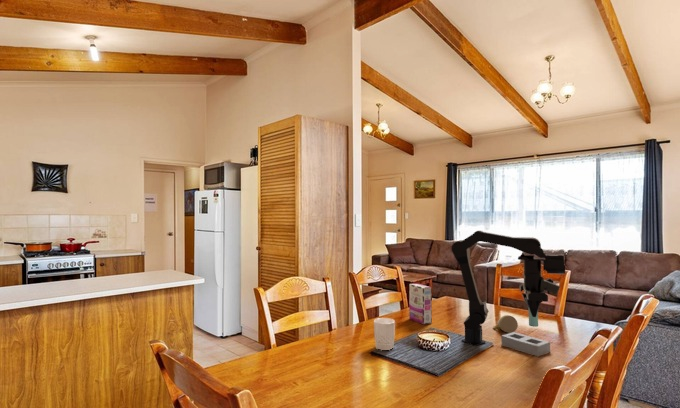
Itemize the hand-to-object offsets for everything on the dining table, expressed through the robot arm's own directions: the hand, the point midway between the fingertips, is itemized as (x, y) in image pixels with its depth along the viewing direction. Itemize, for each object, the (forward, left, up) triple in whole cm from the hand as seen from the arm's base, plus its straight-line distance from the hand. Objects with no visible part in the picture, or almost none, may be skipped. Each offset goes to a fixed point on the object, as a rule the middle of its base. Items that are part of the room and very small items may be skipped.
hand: (533, 315), depth 140 cm
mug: (+13, +20, -13) cm, 27 cm away
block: (0, +3, -13) cm, 13 cm away
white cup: (-42, +33, -13) cm, 55 cm away
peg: (0, 0, -4) cm, 4 cm away
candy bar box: (-6, +50, -13) cm, 52 cm away
